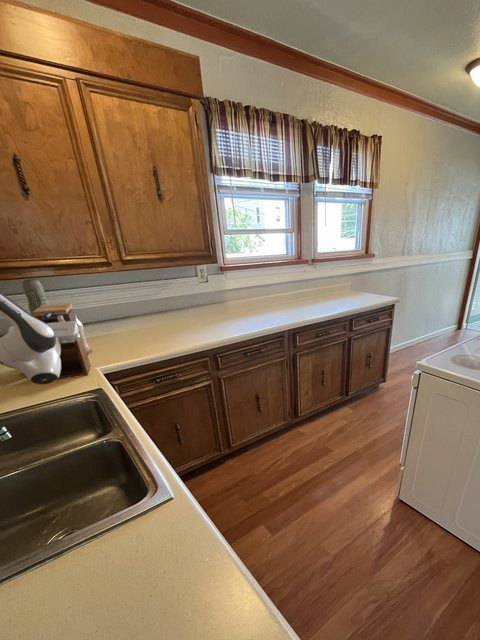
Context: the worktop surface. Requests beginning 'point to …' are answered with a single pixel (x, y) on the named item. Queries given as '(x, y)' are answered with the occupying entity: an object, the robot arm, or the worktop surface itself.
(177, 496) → the worktop surface
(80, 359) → the nightstand
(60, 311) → the shelf
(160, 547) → the worktop surface
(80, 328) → the plastic bottle
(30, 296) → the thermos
